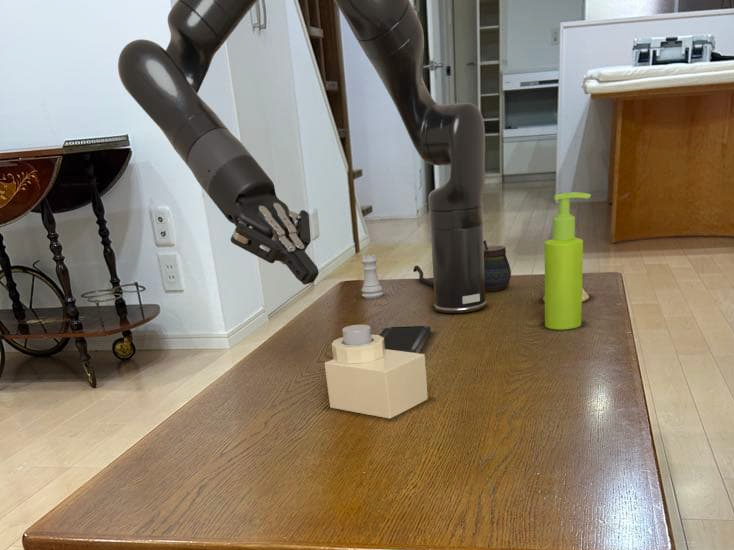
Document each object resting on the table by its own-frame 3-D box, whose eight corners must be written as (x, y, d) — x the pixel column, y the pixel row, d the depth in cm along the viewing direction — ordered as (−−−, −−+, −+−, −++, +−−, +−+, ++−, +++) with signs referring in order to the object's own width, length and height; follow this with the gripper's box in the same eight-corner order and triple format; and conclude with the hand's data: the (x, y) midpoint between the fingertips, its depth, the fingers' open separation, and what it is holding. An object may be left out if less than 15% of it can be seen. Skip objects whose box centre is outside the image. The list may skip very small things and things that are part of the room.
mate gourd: (513, 285, 165) (512, 232, 161) (508, 293, 159) (507, 239, 154) (477, 286, 167) (476, 234, 163) (471, 294, 161) (469, 240, 156)
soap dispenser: (587, 328, 131) (590, 193, 122) (543, 330, 133) (543, 196, 123) (588, 319, 136) (591, 189, 127) (545, 321, 138) (545, 192, 128)
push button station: (325, 406, 108) (317, 346, 104) (364, 389, 113) (358, 330, 109) (390, 419, 101) (384, 355, 98) (428, 399, 107) (423, 338, 103)
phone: (431, 325, 136) (415, 350, 123) (431, 332, 137) (416, 357, 124) (384, 327, 138) (364, 351, 125) (385, 333, 138) (365, 359, 126)
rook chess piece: (383, 298, 165) (379, 256, 161) (361, 299, 165) (356, 258, 161) (384, 293, 169) (380, 252, 165) (362, 295, 169) (358, 254, 165)
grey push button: (338, 346, 105) (336, 330, 104) (356, 339, 107) (354, 323, 106) (359, 349, 103) (358, 332, 102) (377, 341, 105) (376, 325, 104)
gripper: (200, 158, 99) (287, 268, 98) (278, 148, 108) (359, 248, 107) (181, 206, 104) (263, 310, 103) (257, 192, 113) (334, 288, 112)
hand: (312, 279), depth 105 cm, fingers closed
